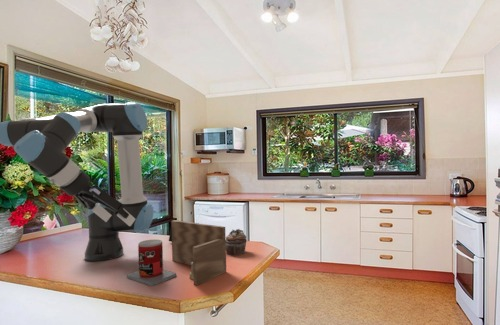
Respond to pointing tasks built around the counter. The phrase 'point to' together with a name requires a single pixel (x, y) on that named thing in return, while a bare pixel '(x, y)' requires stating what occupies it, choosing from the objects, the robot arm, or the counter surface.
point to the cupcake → (236, 242)
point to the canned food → (150, 258)
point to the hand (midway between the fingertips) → (120, 220)
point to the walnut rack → (199, 248)
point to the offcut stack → (191, 271)
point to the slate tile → (152, 280)
